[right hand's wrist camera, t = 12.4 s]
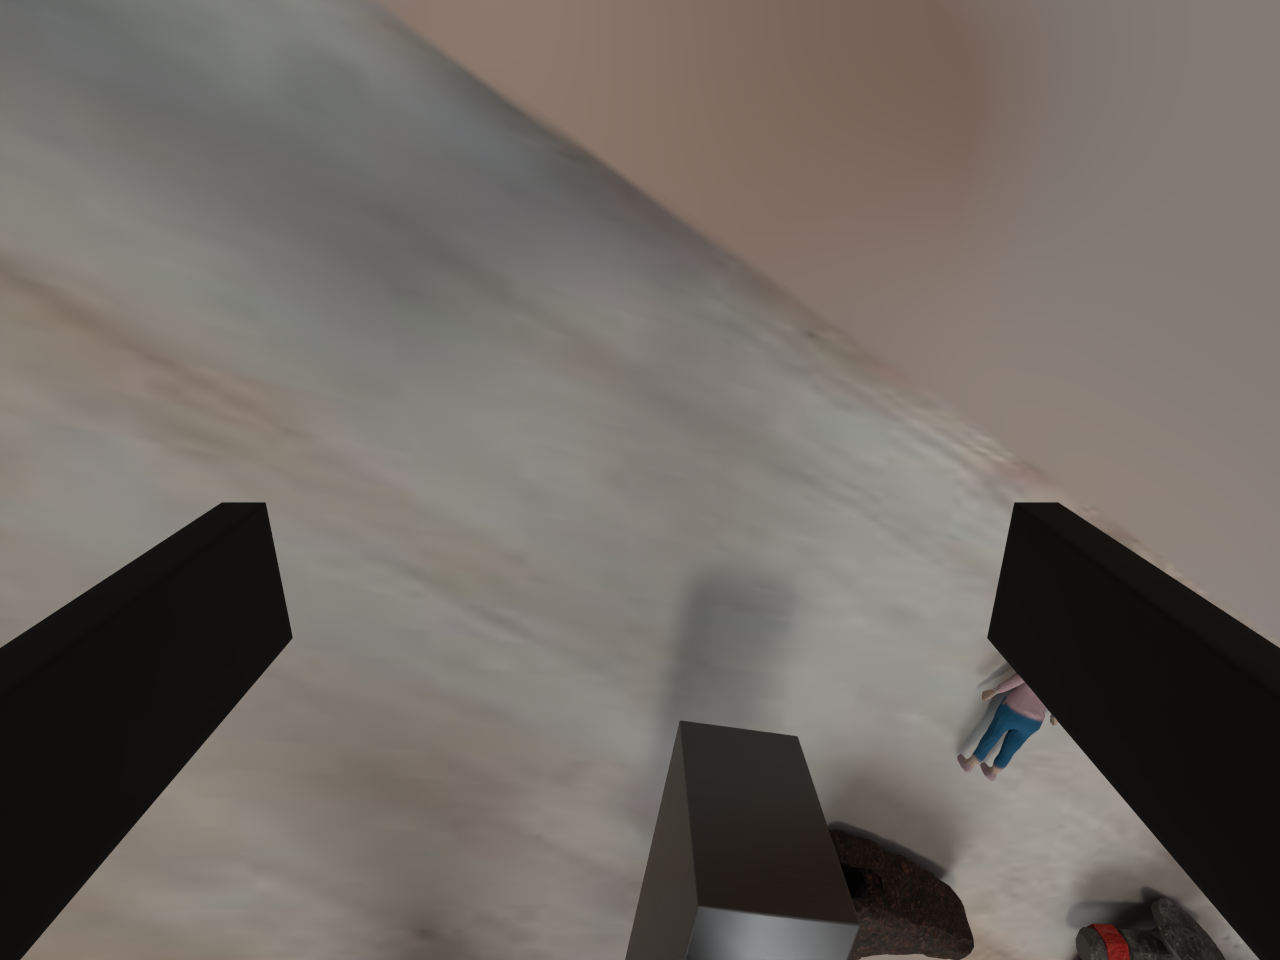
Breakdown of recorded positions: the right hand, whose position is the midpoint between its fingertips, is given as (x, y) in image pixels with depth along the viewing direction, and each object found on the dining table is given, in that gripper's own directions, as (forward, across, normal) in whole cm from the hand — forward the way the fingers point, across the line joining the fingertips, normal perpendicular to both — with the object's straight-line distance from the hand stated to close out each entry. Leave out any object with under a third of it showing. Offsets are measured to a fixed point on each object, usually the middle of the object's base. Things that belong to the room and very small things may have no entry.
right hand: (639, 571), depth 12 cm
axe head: (+31, +15, -48) cm, 59 cm away
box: (+18, +3, -30) cm, 35 cm away
